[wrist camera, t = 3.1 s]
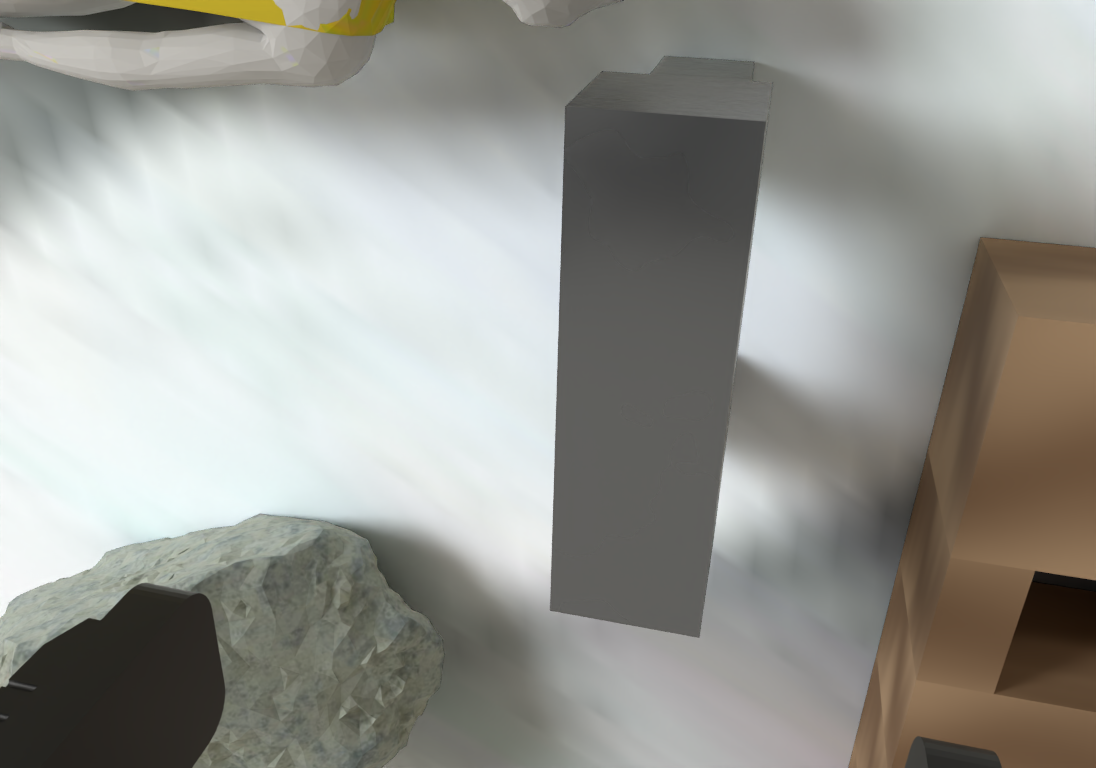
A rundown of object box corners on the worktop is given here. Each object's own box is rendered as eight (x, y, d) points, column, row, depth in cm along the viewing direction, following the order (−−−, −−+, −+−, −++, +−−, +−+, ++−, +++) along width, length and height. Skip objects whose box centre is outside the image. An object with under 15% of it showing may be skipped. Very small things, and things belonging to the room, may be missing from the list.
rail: (980, 237, 22) (1018, 316, 18) (1328, 270, 20) (1449, 362, 17) (825, 859, 32) (828, 993, 28) (1048, 907, 31) (1083, 1055, 27)
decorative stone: (95, 680, 37) (107, 964, 30) (-104, 514, 29) (-152, 852, 22) (422, 538, 39) (507, 776, 31) (322, 343, 30) (406, 605, 23)
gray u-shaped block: (643, 31, 21) (565, 105, 15) (780, 39, 21) (766, 121, 14) (618, 416, 26) (549, 610, 19) (729, 432, 26) (699, 637, 19)
